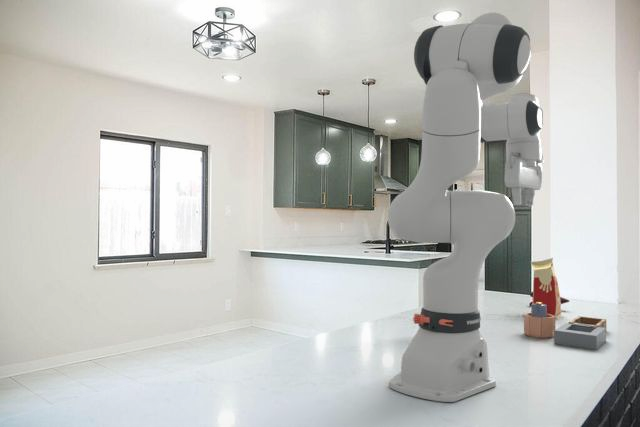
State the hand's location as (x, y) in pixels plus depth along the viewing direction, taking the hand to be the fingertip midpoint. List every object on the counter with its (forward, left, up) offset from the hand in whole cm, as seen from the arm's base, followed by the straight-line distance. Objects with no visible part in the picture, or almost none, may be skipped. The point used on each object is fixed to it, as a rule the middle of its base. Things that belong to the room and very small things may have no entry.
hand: (523, 205), depth 134 cm
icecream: (+56, +9, -37) cm, 68 cm away
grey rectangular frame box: (+8, -12, -37) cm, 40 cm away
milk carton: (+41, +6, -37) cm, 56 cm away
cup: (+10, -1, -37) cm, 38 cm away
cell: (+10, -1, -36) cm, 38 cm away
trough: (+22, -11, -37) cm, 44 cm away
